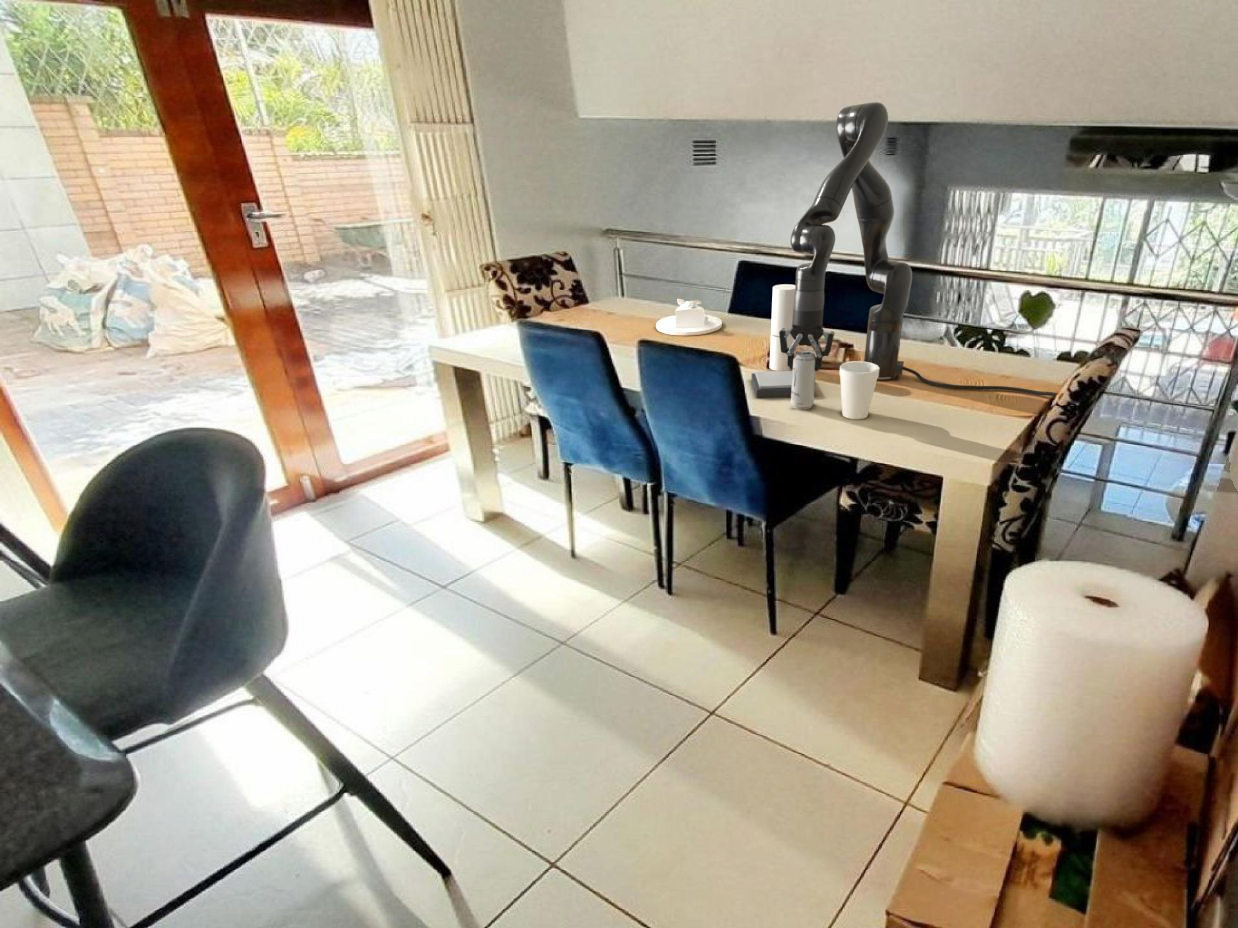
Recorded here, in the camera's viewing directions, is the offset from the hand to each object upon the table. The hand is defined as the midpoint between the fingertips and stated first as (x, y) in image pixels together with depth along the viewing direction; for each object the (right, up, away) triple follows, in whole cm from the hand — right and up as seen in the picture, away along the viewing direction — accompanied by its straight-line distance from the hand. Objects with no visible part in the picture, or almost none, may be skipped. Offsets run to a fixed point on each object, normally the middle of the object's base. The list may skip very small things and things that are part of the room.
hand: (804, 369), depth 186 cm
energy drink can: (+1, -10, +5) cm, 11 cm away
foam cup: (+13, -12, -2) cm, 18 cm away
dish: (-22, +27, +81) cm, 88 cm away
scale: (-2, -3, +18) cm, 18 cm away
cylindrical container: (+2, +5, +34) cm, 34 cm away
